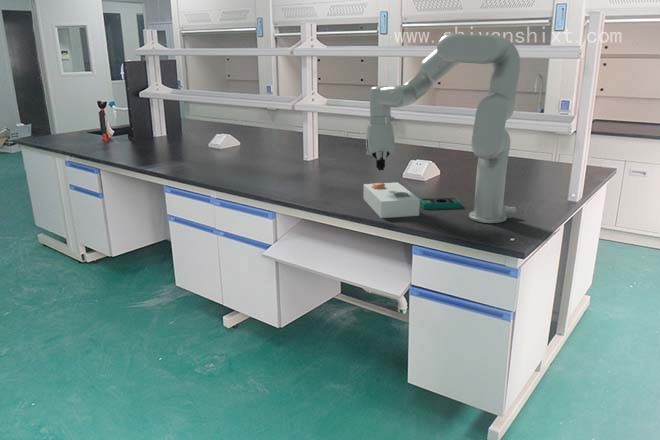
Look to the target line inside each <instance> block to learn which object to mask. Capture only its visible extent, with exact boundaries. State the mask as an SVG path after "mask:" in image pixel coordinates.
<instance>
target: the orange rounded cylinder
mask: <svg viewBox="0 0 660 440" xmlns="http://www.w3.org/2000/svg"><path fill="white" fill-rule="evenodd" d="M384 183H385V182H384ZM384 183H383V182H375V183H372V184H373V189H385V184H384Z"/></svg>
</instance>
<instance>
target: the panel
mask: <svg viewBox="0 0 660 440" xmlns="http://www.w3.org/2000/svg"><path fill="white" fill-rule="evenodd" d="M373 184H374V183H364V184H363V200H364V202H366V204H368V206H370V208H371V209H372V210H373V211H374V212H375V213H376V214H377V215H378V217H379V218H380V219H387V218H402V217H404V218H405V217H406V218H407V217H419V216H420V207H421V206H420V199H421V198H419V197H417V196H416V195H415V194H414V193H413V192H411V191H409V190H408V188H406V187H405V186H403V185H402V184H400V183H399V182H397V181H396V182H384V184H385V189H373ZM398 192H406V193H408V197H396V193H398Z"/></svg>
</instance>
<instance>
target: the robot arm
mask: <svg viewBox="0 0 660 440" xmlns="http://www.w3.org/2000/svg"><path fill="white" fill-rule="evenodd" d="M460 63H461V64H462V63H464V64H476V65H477V64H478V65H488V64H489V65H490V64H491V66H492V72H491V75H490V81H489V87H488V91H487V92H488V94H487V96H485V97H484V98H482V100H481V101H480V102H479V104H478V106H477V108H476V111H475V116H474V117H475V118H474V121H473V122H474V123H473V130H472V137H471V149H472V152H473V153H474V154H473V155H475V156H476V157H477V158H478V159H477V165H476V174H475V175H476V177H475V188H474V189H475V190H474V192H475V193H474V205H473V210H472V211H470V212H469V213H468V218H469V219H471V220H472V221H475V222H479V223H484V224H500V223H503V222H505V221H507V219H508V216H507V214H508V213H516V212H517V208H516V206H510V207H509V205H504V200H505V199H504V197H505V189H506V188H505V187H506V178H507V177H506V175H507V168H508V161H509V153H510V150H511V138H510V134H509V132H508V130H507V129H505V127H506V124H507V123H506V122H507V121H508V120H509V119H510V118H511V117H512V115H513V114H514V111H515V110H514V109H515V103H516V96H517V90H518V84H519V78H520V72H521V58H520V54H519V51H518V48H517V47H516V46H515V44H513V43H512V42H511V41H510V40H508V39H507V38H505V37H502V36H499V35H496V34H495V35H494V34H493V35H492V34H463V33H456V32H454V33H452V32H450V33H446V34H445V35H443V36H442V37H441V38H440V39H439V40H438V42H437V45H436V48H435V49H434V50H433V51H432V52H430V54H429V55H427V56H426V57H425V58H424V59H422V60H421V63H420V68H419V71H418V72H416V74H414V76H413V77H411V78H410V79H409V80H408V81H407V82H405V83H404V84H400V85H394V86H393V85H392V86H387V85H375V86H372V87H371V88H370V89H369V124H367V127H366V138H365V139H366V140H365V148H366V155H368V156H372V157H373V158H374V159H375V166H376V168H377V170H378V171H379V172H380V171H385V168H386V159H387V158H388V157H389V156H390V155H392V154H395V153H396V152H395V151H396V150H395V145H396V144H395V132H394V125H393V123H392V121H395V116H392V115H391V112H392V111H391V110H392V109H391V108H397V109H398V108H403V107H406V106H410V105H412V104H413V103H415V102H417V100H420V98H421V97H423V96H425V94H426V93H428V92H429V90H430V89H432V87H433V86H434V85H435V84H436V83H438V81H439V80H441V78H443V77H444V76H445V75H446V74H447V73H449V72H450V71H451V70H452V69H454V68H455V67H456V66H457V65H458V64H460ZM380 153H381V156H380Z"/></svg>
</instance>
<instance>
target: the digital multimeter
mask: <svg viewBox="0 0 660 440" xmlns="http://www.w3.org/2000/svg"><path fill="white" fill-rule="evenodd" d="M419 199H420V207H421V208H422V209H423V210H441V209H442V210H443V209H444V210H445V209H447V210H448V209H450V210H451V209H462V201H461V200H459V199H458V198H457V197H443V198H442V197H441V198H439V197H437V198H419Z"/></svg>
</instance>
